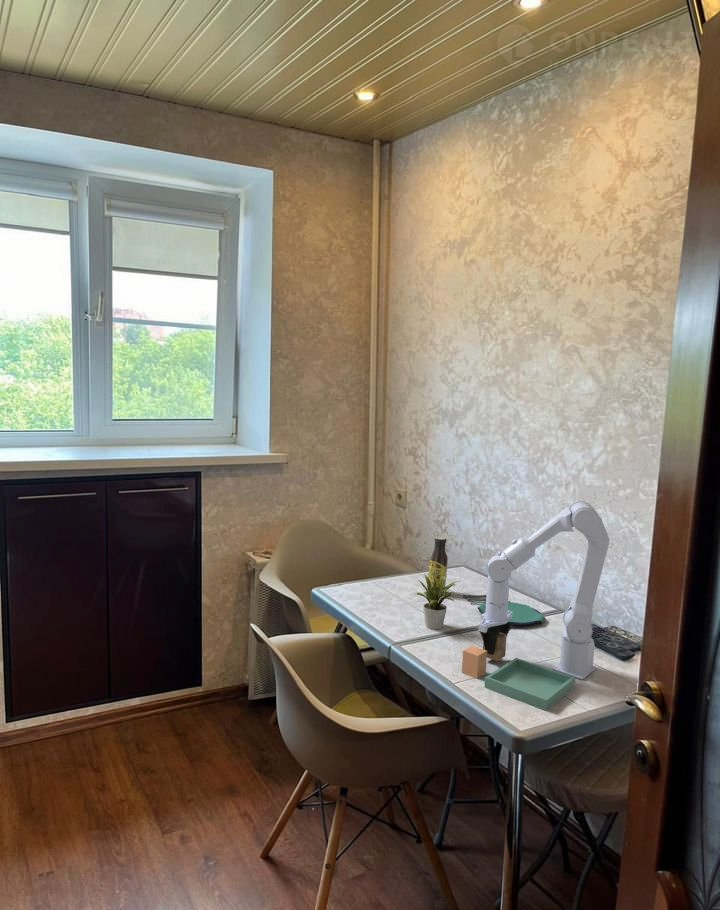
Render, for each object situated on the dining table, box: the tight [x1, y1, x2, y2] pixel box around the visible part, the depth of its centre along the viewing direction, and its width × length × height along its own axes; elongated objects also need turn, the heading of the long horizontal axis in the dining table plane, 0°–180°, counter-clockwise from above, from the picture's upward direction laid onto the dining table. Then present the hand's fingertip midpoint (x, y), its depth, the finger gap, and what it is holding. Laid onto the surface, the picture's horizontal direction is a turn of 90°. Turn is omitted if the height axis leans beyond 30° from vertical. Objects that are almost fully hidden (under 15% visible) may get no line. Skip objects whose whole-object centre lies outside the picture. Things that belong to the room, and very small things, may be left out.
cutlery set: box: [462, 594, 546, 626], centre depth 214 cm, size 20×30×2 cm, turn 14°
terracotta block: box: [461, 645, 488, 679], centre depth 168 cm, size 4×4×6 cm
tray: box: [484, 657, 576, 711], centre depth 161 cm, size 16×16×2 cm
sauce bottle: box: [427, 535, 449, 593], centre depth 228 cm, size 7×6×20 cm
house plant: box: [415, 573, 460, 631], centre depth 196 cm, size 14×14×16 cm
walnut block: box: [482, 633, 508, 662], centre depth 175 cm, size 4×4×6 cm
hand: (494, 650), depth 175 cm, fingers closed on walnut block, 4 cm apart
